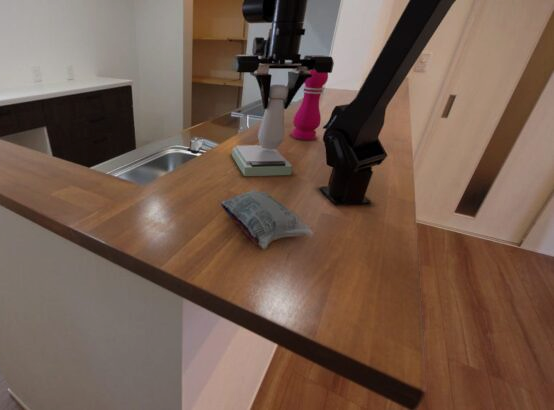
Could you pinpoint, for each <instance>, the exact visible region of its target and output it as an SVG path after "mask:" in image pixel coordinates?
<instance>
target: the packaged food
mask: <svg viewBox="0 0 554 410" xmlns="http://www.w3.org/2000/svg"><path fill="white" fill-rule="evenodd" d="M220 205H221V207H222V209H223V210H224V211H225V213H226V214H227V216H228V217H229V218H230V219H232V221H233V222H235V223H236V224H237V225H238V226H239V227H240V228H241V230H242V231H243V232H244V233H245V234H246V235H247V236H248V238H249V239H250V240H251V241H252V242H253V243H254V244H255V245H256V246H258V245H259V247H260V248H262V250H266V249H267V248H268V246H269V244H270V243H272V242H274V241H277V240H281V239H285V238H292V237H302V236H306V237H313V236H314V232H313V230H312V229H311V228H310V226H309V224H307V222H303V221H301V219H300V217H299V215H298V214H297V213H295V212H294V211H292V210H291V209H289V208H288V207H287V206H285V205H284V204H283V203H282V202H280V201H279V200H277V199H276V198H274V197H273V195H270V194H269V193H267V191H257V190H256V189H253V190H250V191H246V192H245V193H241V194H238V195H236V196H233V197H231V198H229V199H227V200H223V201H221V202H220Z"/></svg>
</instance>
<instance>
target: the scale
mask: <svg viewBox="0 0 554 410" xmlns="http://www.w3.org/2000/svg"><path fill="white" fill-rule="evenodd" d="M231 152H232V153H231V157H232V158H233V160H234V162H235V163H236V165H237V166H238V168H239V170H240V171H241V174H242V175H243V176H244V177H266V176H270V177H272V176H273V177H274V176H291V175H292V171H293V165H292V164H291V163H290V162H289V161H288V160H287V159H286V158H285V157H284V156H283V155H282V154H281V153H280V152H279V151H278V149H272V150H269V149H265V148H262V147H261V145H260V144H257V145H256V144H255V145H254V144H253V145H235V147H232V151H231Z"/></svg>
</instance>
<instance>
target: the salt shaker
mask: <svg viewBox="0 0 554 410" xmlns="http://www.w3.org/2000/svg"><path fill="white" fill-rule="evenodd" d="M287 96H288V87H287V85H285V84H271V85H270V93H269V101H268V106H267V109H264V113H263V116H262V120H261V123H260V127H259V130H258V133H257V139H258V142H259V145H261V147H262V148H265V149H269V150H272V149H276V150H278V149H279V148H280V146H281V145H282V144H283V142H284V140H285V109H284V98H286V97H287Z"/></svg>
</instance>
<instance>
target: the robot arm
mask: <svg viewBox="0 0 554 410" xmlns="http://www.w3.org/2000/svg"><path fill="white" fill-rule="evenodd" d="M308 1H309V0H243V2H242V4H241V12H242V13H241V14H242V16H243V18H244V21H246V22H247V23H248V24H271V28H269V32H268V34H267V35H268V36H267V38H266V39H265V37H261V36H260V37H259V36H257V37H254V39H253V42H252V49H251V53H252V54H235V55H234V57H233V58H232V64H231V70H232V71H234V72H236V73H242V74H244V73H249V74H250V75H251V76H252V77H254V78H255V80H256V82H257V85H258V88H259V92H260V98H261V102H262V108H263V110H266V109H267V106H268V101H269V93H270V85H272V74H271V73H269V72H270V69H271V70H272V69H273V70H281V69H282V70H287V69H288V70H291V71H287V85H286V86H287V87H288V96H287V97H286V98H284V110H287V109H288V108H289V106H290V104H291V102H293V100H294V98H295V96H296V95H297V93H298V92H299V90H300V89H301V87H302V86H303V85H304V84H305V83H304V82H305V81H306V80H307V78H312V74H310V70H315V71H316V73H328V74H332V73H333V70H334V65H335V61H334V59H333V56H329V55H319V54H316V55H315V54H306V55H304V57H303V58H301V57H302V54H301V53H300V47H301V41H302V36H305V34H306V28H304V24H305V18H306V12H307V7H308ZM456 1H457V0H409V1H408V2H407V4H406V6H405V8H404V10H403V11H402V13H401V15H400V16H399V19H398V20H397V22H396V24H395V26H394V27H393V29H392V31H391V33H390V34H389V36H388V38H387V39H386V41H385V44H384V45H383V47H382V49H381V50H380V52H379V54H378V55H377V58H376V59H375V61H374V63H373V65H372V67H371V69H370V70H369V72H368V73H367V75H366V78H365V79H364V81H363V83H362V85H361V86H360V87H359V91H358V92H357V94H356V95H355V97H354V98H353V100H352V101H350V103H346V104H340V105H336V106H334V108H333V109H332V111H331V114H330V116H329V119H328V121H327V122H326V124H325V125H323V127H322V129H324V132H323V135H322V142H323V144H324V149H325V163H326V164H325V165H326V166H327V167H330V168H331V171H330V175H329V179H328V183H327V185H326V186H322V185H321V186H320V187H319V190H320V191H321V193H323V194H324V195H325V196H326V197H327V198H328V199H329V200H330V201H331V202H332V203H333V204H334V205H335V206H356V205H357V206H358V205H359V206H361V205H371V203H372V200H371V199H370V198H368V196H367V197H366V194H367V191H368V188H369V185H370V182H371V179H372V177H373V173H374V171H373V167H375V166H380V165H381V164H383V162H384V161H385V160H386V159H387V158H388V153H387V151H386V149H385V148H384V146H383V144H382V142H381V140H380V138H379V136H380V134H381V131H382V129H383V128H384V126H385V125H384V124H385V118H386V111H387V107H388V106H389V104H390V102H391V101H392V99H393V98H394V96H395V95H396V93H397V91H398V90H399V88H400V87H401V86H402V84H403V82H404V81H405V80H406V78H407V76H408V75H409V73H410V71H411V70H412V69H413V67H414V65H415V64H416V62H417V60H418V59H419V58H420V56H421V54H422V53H423V51H424V50H425V48H426V47H427V46H428V43H429V42H430V41H431V39H432V37H433V36H434V34H435V33H436V31H437V29H438V28H439V26H440V25H441V23H442V22H443V20H444V19H445V17H446V16H447V14H448V12H449V11H450V10H451V8H452V7H453V5H454V4H455V2H456Z"/></svg>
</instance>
